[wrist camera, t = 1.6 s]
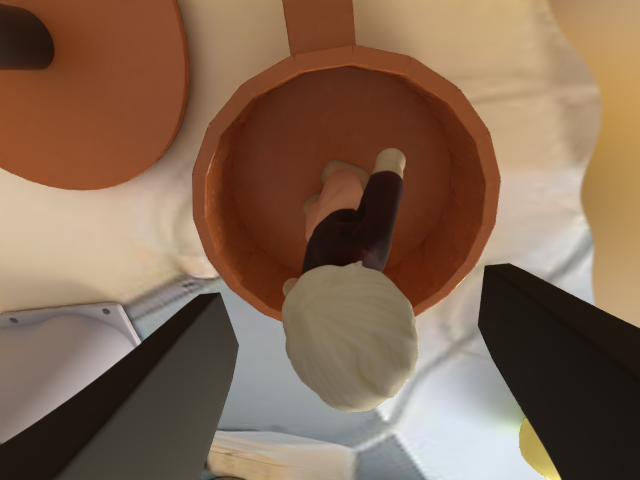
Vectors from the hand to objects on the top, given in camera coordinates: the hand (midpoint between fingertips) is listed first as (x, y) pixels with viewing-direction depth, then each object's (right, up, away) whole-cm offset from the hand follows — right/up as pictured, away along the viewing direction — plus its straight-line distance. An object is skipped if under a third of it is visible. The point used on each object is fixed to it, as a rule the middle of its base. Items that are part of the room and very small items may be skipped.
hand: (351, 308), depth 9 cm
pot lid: (-14, +11, +6) cm, 19 cm away
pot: (0, +5, +9) cm, 10 cm away
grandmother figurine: (0, +5, +9) cm, 10 cm away
